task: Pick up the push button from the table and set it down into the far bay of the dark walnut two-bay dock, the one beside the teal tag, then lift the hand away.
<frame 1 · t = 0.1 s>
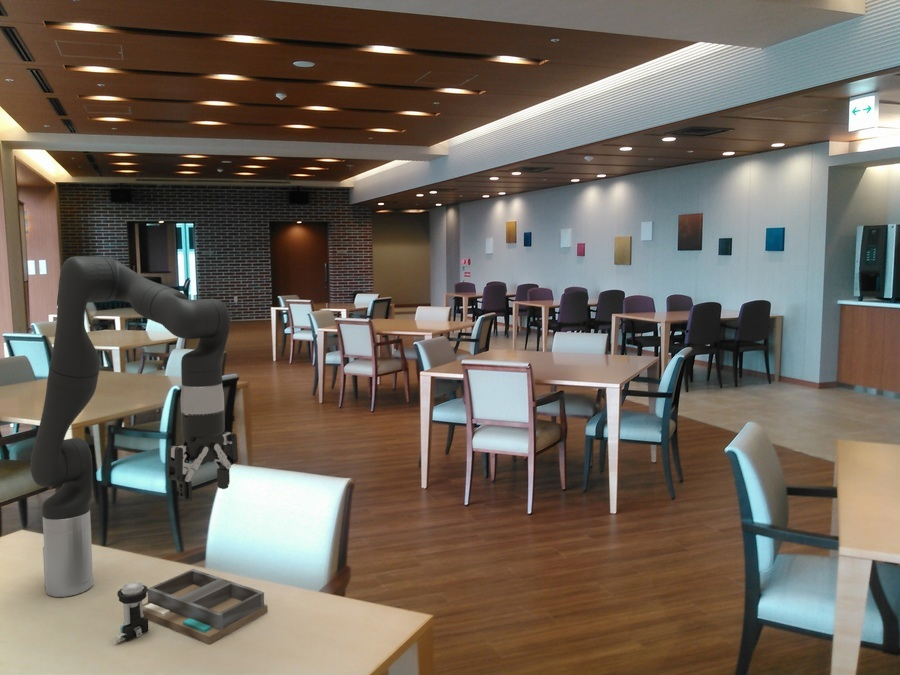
hand: (205, 494, 134), 29 cm above the table, tool pointing down, fingers open, 8 cm apart
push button: (131, 637, 139), on the table
dock: (202, 613, 148), on the table
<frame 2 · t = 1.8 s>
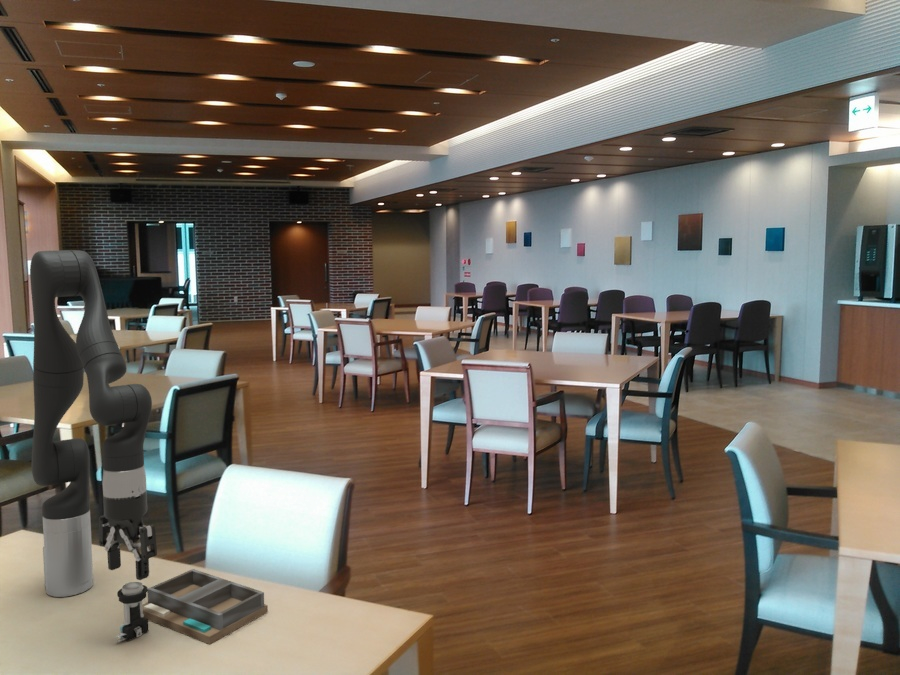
hand: (128, 573, 137), 13 cm above the table, tool pointing down, fingers open, 8 cm apart
nothing on the table moved.
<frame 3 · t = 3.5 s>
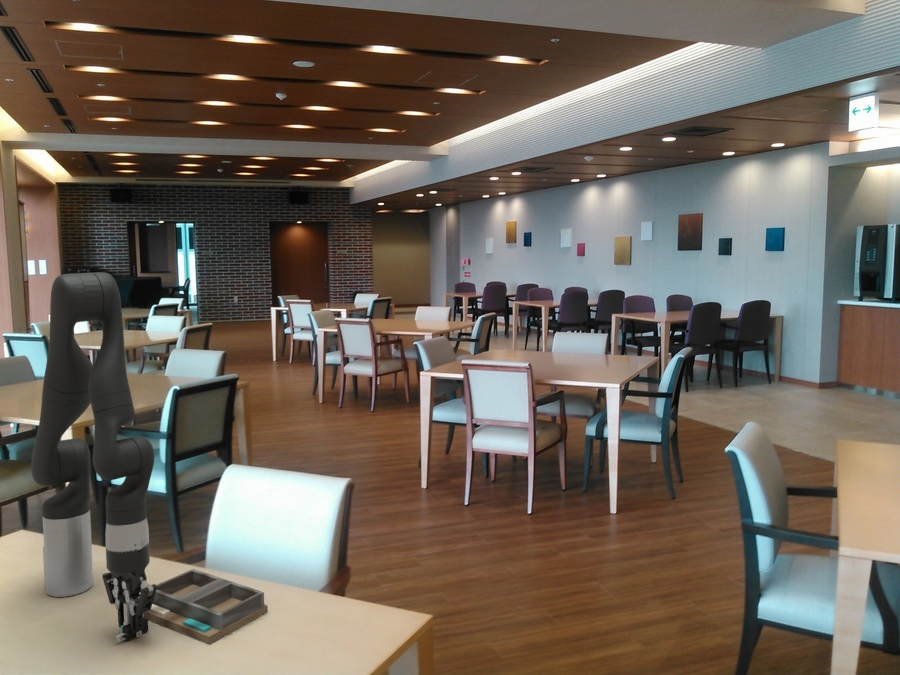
hand: (130, 628, 139), 2 cm above the table, tool pointing down, fingers closed on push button, 3 cm apart
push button: (131, 637, 139), on the table, touching gripper
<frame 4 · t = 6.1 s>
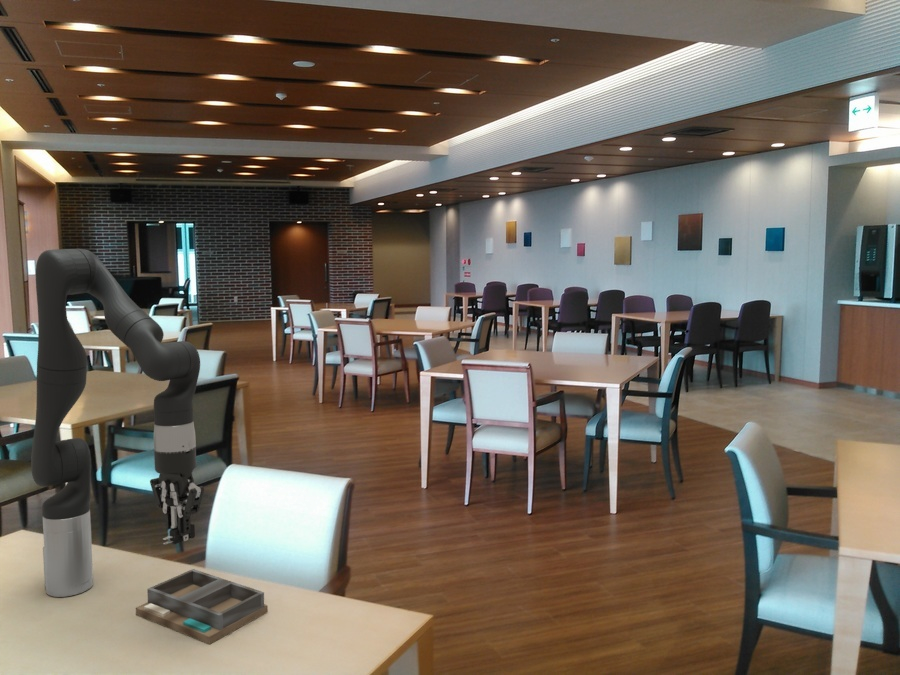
hand: (178, 532, 140), 20 cm above the table, tool pointing down, fingers closed on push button, 3 cm apart
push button: (178, 542, 140), point 18 cm above the table, touching gripper
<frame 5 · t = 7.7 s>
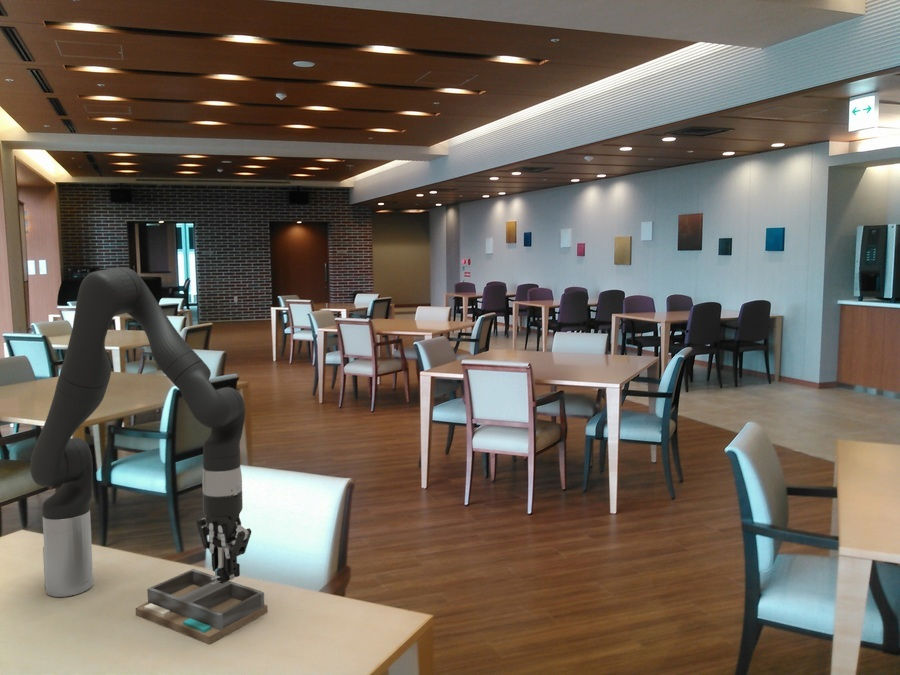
hand: (224, 572, 145), 10 cm above the table, tool pointing down, fingers closed on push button, 3 cm apart
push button: (224, 581, 145), point 8 cm above the table, touching gripper
when the fingers open (6 cm above the table, at t = 8.8 s): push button moves 2 cm, point 3 cm above the table.
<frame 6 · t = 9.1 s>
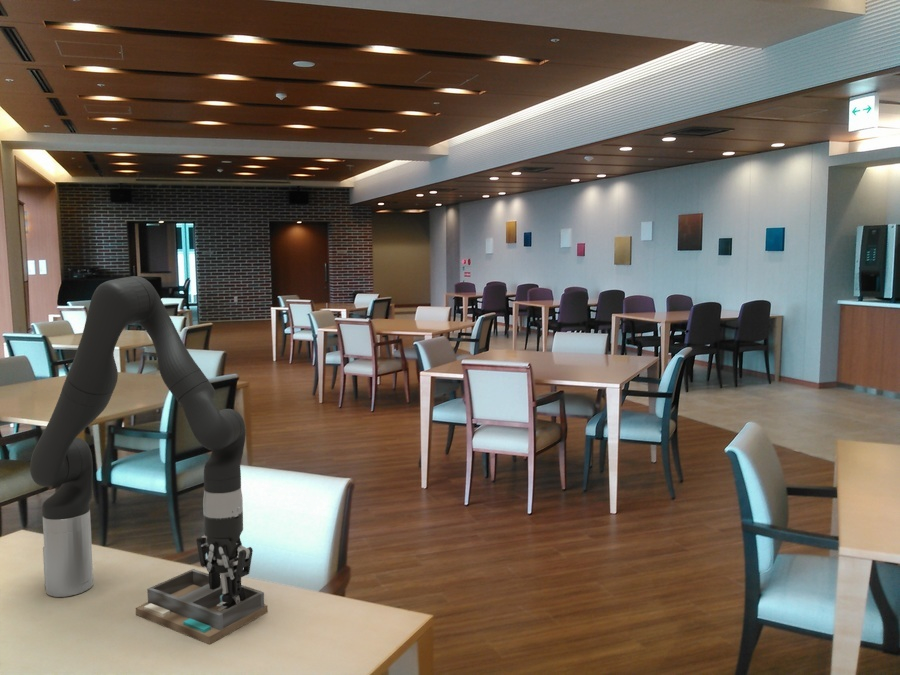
hand: (225, 591, 146), 6 cm above the table, tool pointing down, fingers open, 5 cm apart
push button: (230, 606, 145), point 3 cm above the table, touching gripper
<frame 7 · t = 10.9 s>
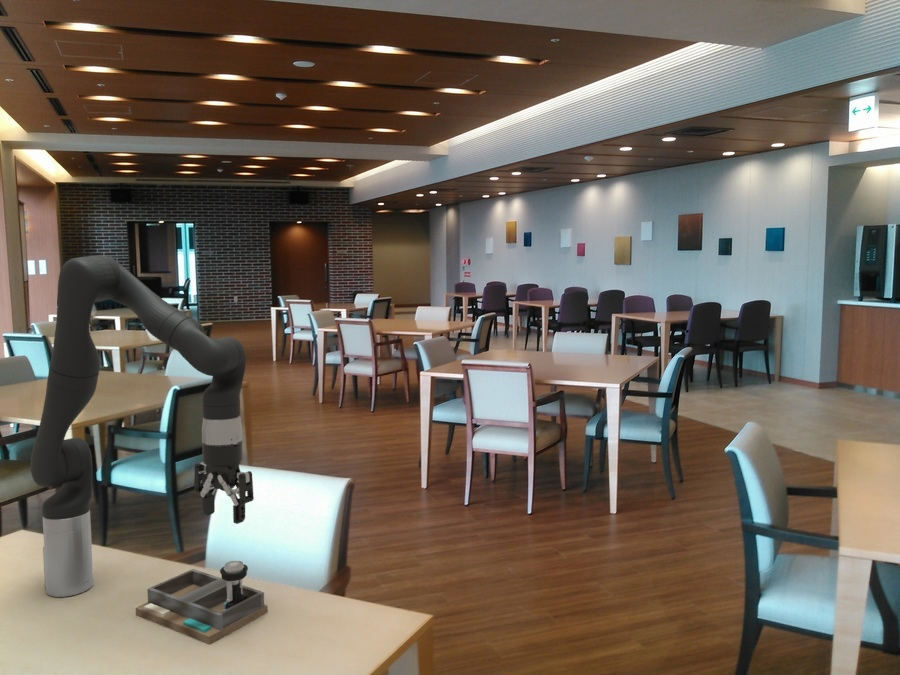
hand: (223, 518, 144), 21 cm above the table, tool pointing down, fingers open, 8 cm apart
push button: (233, 614, 145), point 1 cm above the table, touching dock
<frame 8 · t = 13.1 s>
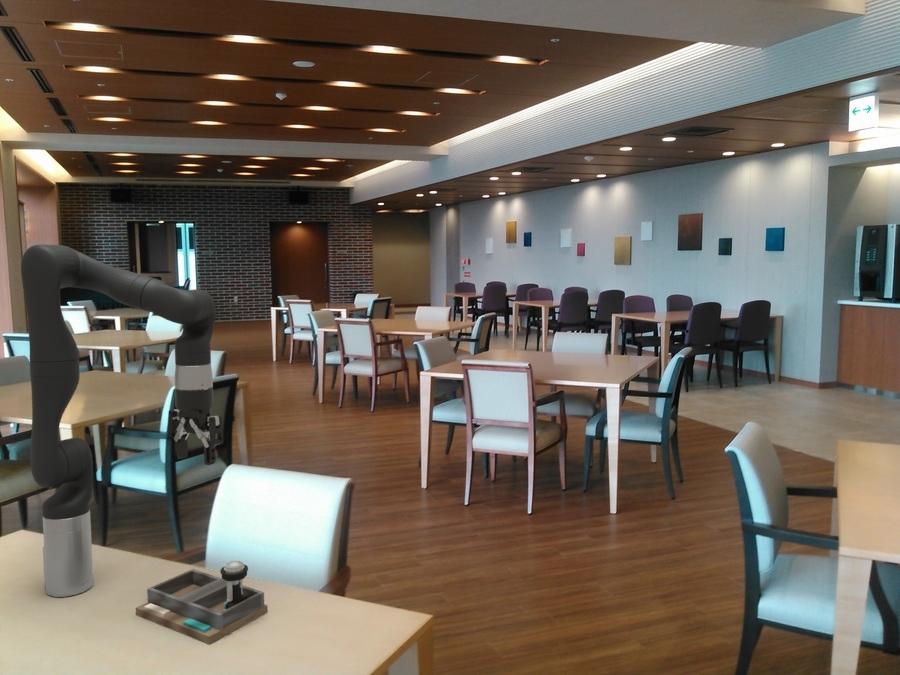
hand: (196, 461, 152), 30 cm above the table, tool pointing down, fingers open, 8 cm apart
nothing on the table moved.
at the end: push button 1.7 cm from the target spot on the dock, point 1.3 cm above the dock's base; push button tilted 0°; the gripper is holding nothing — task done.
